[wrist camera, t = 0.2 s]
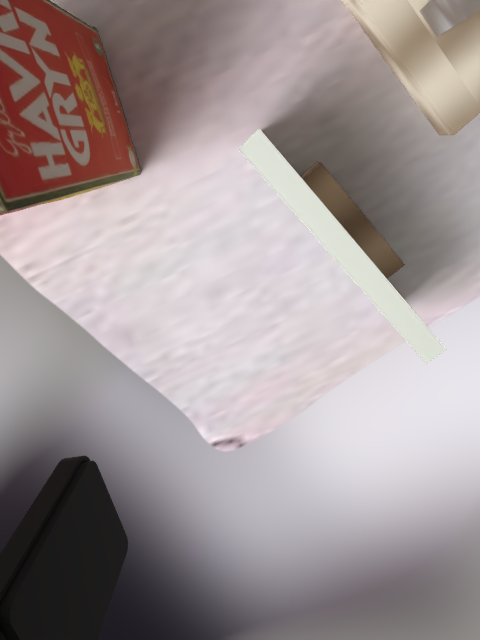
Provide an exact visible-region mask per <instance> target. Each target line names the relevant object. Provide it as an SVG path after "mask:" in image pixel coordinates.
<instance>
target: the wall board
mask: <svg viewBox="0 0 480 640" xmlns="http://www.w3.org/2000/svg"><path fill="white" fill-rule="evenodd" d="M238 150H239V151H240V152H241V153H242V154H243V155H244V156H245V158H246V159H247V160H248V161H249V162H250V163H251V164H252V166H253V167H254V168H255V169H256V170H257V171H258V172H259V174H260V175H261V176H262V177H263V178H264V179H265V180H266V182H267V183H268V184H269V185H270V186H271V187H272V188H273V190H274V191H275V192H276V193H277V194H278V195H279V196H280V198H281V199H282V200H283V201H284V202H285V203H286V204H287V206H288V207H289V208H290V209H291V210H292V211H293V212H294V214H295V215H296V216H297V217H298V218H299V219H300V220H301V222H302V223H303V224H304V225H305V226H306V227H307V228H308V230H309V231H310V232H311V233H312V234H313V235H314V236H315V238H316V239H317V240H318V241H319V242H320V243H321V244H322V246H323V247H324V248H325V249H326V250H327V251H328V252H329V254H330V255H331V256H332V257H333V258H334V259H335V260H336V262H337V263H338V264H339V265H340V266H341V267H342V268H343V270H344V271H345V272H346V273H347V274H348V275H349V276H350V278H351V279H352V280H353V281H354V282H355V283H356V284H357V286H358V287H359V288H360V289H361V290H362V291H363V292H364V294H365V295H366V296H367V297H368V298H369V299H370V300H371V302H372V303H373V304H374V305H375V306H376V307H377V308H378V310H379V311H380V312H381V313H382V314H383V315H384V316H385V318H386V319H387V320H388V321H389V322H390V323H391V324H392V326H393V327H394V328H395V329H396V330H397V331H398V332H399V334H400V335H401V336H402V337H403V338H404V339H405V340H406V341H407V342H408V344H409V345H410V346H411V347H412V348H413V349H414V351H415V352H416V353H417V354H418V355H419V356H420V357H421V358H422V360H423V361H424V362H425V363H428V362H429V361H431V360H432V359H434V358H435V357H437V356H438V355H440V354H441V353H442V352H444V351H445V350H446V348H445V347H444V346H443V345H442V343H441V342H440V341H439V340H438V339H437V337H436V336H435V335H434V334H433V333H432V332H431V330H430V329H429V328H428V327H427V326H426V324H425V323H424V322H423V321H422V320H421V318H420V317H419V316H418V315H417V314H416V312H415V311H414V310H413V309H412V308H411V307H410V305H409V304H408V303H407V302H406V301H405V299H404V298H403V297H402V296H401V295H400V293H399V292H398V291H397V290H396V289H395V288H394V286H393V285H392V284H391V283H390V282H389V281H388V279H387V278H386V277H385V276H384V275H383V274H382V272H381V271H380V270H379V269H378V268H377V266H376V265H375V264H374V263H373V262H372V261H371V259H370V258H369V257H368V256H367V255H366V253H365V252H364V251H363V250H362V249H361V248H360V246H359V245H358V244H357V243H356V242H355V241H354V239H353V238H352V237H351V236H350V235H349V233H348V232H347V231H346V230H345V229H344V228H343V226H342V225H341V224H340V223H339V222H338V220H337V219H336V218H335V217H334V216H333V215H332V213H331V212H330V211H329V210H328V209H327V207H326V206H325V205H324V204H323V203H322V202H321V200H320V199H319V198H318V197H317V196H316V194H315V193H314V192H313V191H312V190H311V189H310V187H309V186H308V185H307V184H306V183H305V182H304V180H303V179H302V178H301V177H300V175H299V174H298V173H297V172H296V171H295V170H294V168H293V167H292V166H291V165H290V164H289V162H288V161H287V160H286V159H285V158H284V157H283V155H282V154H281V153H280V152H279V151H278V150H277V148H276V147H275V146H274V145H273V144H272V142H271V141H270V140H269V139H268V138H267V137H266V135H265V134H264V133H263V132H262V131H261V130H260V129H258V130H257V131H256V132H255V133H254V134H253V135H252V136H251V137H250V138H249V139H248V140H247V141H246V142H245V143H244V144H243V145H242V146H241V147H240V148H239V149H238Z"/></svg>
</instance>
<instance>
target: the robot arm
mask: <svg viewBox="0 0 480 640" xmlns="http://www.w3.org/2000/svg"><path fill="white" fill-rule="evenodd" d="M127 548H128V540H127V536H126V534H125V531H124V529H123V526H122V524H121V521H120V519H119V517H118V514H117V512H116V510H115V507H114V505H113V502H112V500H111V498H110V495H109V493H108V490H107V488H106V485H105V483H104V481H103V478H102V476H101V473H100V471H99V469H98V466H97V464H96V463H95V462H94V461H90V459H89V458H88V457H87V456H79V457H72V458H65V459H62V460H61V461H60V462H59V463H58V465H57V466H56V468H55V470H54V471H53V473H52V474H51V476H50V477H49V479H48V480H47V482H46V484H45V485H44V487H43V488H42V490H41V492H40V493H39V494H38V496H37V498H36V499H35V501H34V502H33V504H32V505H31V507H30V508H29V510H28V512H27V513H26V515H25V516H24V518H23V519H22V521H21V522H20V524H19V526H18V527H17V529H16V530H15V532H14V533H13V535H12V537H11V538H10V540H9V541H8V543H7V544H6V546H5V547H4V549H3V551H2V552H1V554H0V640H97V638H98V636H99V633H100V630H101V627H102V624H103V621H104V618H105V615H106V612H107V609H108V606H109V603H110V600H111V597H112V594H113V591H114V588H115V586H116V583H117V580H118V577H119V574H120V571H121V568H122V565H123V562H124V559H125V556H126V553H127Z"/></svg>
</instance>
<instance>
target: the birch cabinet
mask: <svg viewBox="0 0 480 640" xmlns="http://www.w3.org/2000/svg"><path fill="white" fill-rule="evenodd" d="M342 1H343V3H344V4H345V5H346V7H347V8H348V10H349V11H350V12H351V14H352V15H353V16H354V18H355V19H356V21H357V22H358V23H359V25H360V26H361V28H362V29H363V30H364V32H365V33H366V34H367V36H368V37H369V39H370V40H371V41H372V43H373V44H374V46H375V47H376V48H377V50H378V51H379V52H380V54H381V55H382V57H383V58H384V59H385V61H386V62H387V63H388V65H389V66H390V68H391V69H392V70H393V72H394V73H395V75H396V76H397V77H398V79H399V80H400V81H401V83H402V84H403V86H404V87H405V88H406V90H407V91H408V93H409V94H410V95H411V97H412V98H413V99H414V101H415V102H416V104H417V105H418V106H419V108H420V109H421V111H422V112H423V113H424V115H425V116H426V117H427V119H428V120H429V122H430V123H431V124H432V126H433V127H434V128H435V130H436V131H437V133H438V134H439V135H455V134H456V133H457V132H458V131H459V130H460V129H462V128H463V127H464V126H465V125H466V124H468V123H469V122H470V121H471V120H472V119H473V118H475V117H476V116H477V115H478V114H479V113H480V0H342Z"/></svg>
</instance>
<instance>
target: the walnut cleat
mask: <svg viewBox="0 0 480 640" xmlns="http://www.w3.org/2000/svg"><path fill="white" fill-rule="evenodd" d="M301 178H302V179H303V180H304V182H305V183H306V184H307V185H308V186H309V187H310V189H311V190H312V191H313V192H314V193H315V194H316V196H317V197H318V198H319V199H320V200H321V202H322V203H323V204H324V205H325V206H326V207H327V209H328V210H329V211H330V212H331V213H332V215H333V216H334V217H335V218H336V219H337V220H338V222H339V223H340V224H341V225H342V226H343V228H344V229H345V230H346V231H347V232H348V233H349V235H350V236H351V237H352V238H353V239H354V241H355V242H356V243H357V244H358V245H359V246H360V248H361V249H362V250H363V251H364V252H365V253H366V255H367V256H368V257H369V258H370V259H371V261H372V262H373V263H374V264H375V265H376V266H377V268H378V269H379V270H380V271H381V272H382V274H383V275H384V276H385V277H386V278H388V277H390V276H391V275H392V274H394V273H395V272H396V271H397V270H399V269H400V268H401V267H403V266H404V265H405V264H404V263H403V262H402V260H401V259H400V258H399V257H398V256H397V254H396V253H395V252H394V251H393V250H392V248H391V247H390V246H389V245H388V243H387V242H386V241H385V240H384V239H383V237H382V236H381V235H380V234H379V233H378V231H377V230H376V229H375V228H374V227H373V225H372V224H371V223H370V222H369V220H368V219H367V218H366V217H365V216H364V214H363V213H362V212H361V211H360V210H359V208H358V207H357V206H356V205H355V203H354V202H353V201H352V200H351V199H350V197H349V196H348V195H347V194H346V193H345V191H344V190H343V189H342V188H341V186H340V185H339V184H338V183H337V182H336V180H335V179H334V178H333V177H332V176H331V174H330V173H329V172H328V171H327V169H326V168H325V167H324V166H323V165H322V163H320V162H318V161H317V162H316V163H315V164H314V165H313V166H312V167H311V168H310V169H309V170H307V171H306V172H305V173H304V174H303V175H302V176H301Z"/></svg>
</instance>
